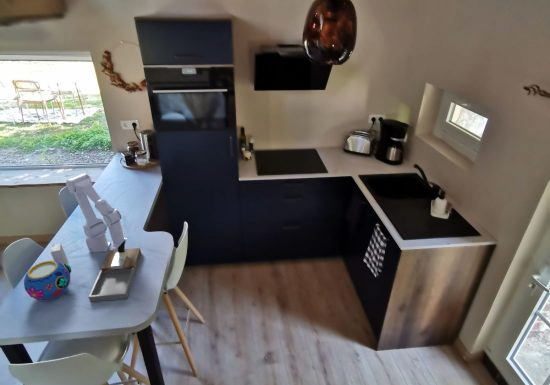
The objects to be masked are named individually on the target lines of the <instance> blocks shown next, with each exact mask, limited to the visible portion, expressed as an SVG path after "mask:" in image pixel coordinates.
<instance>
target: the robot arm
mask: <svg viewBox="0 0 550 385" xmlns="http://www.w3.org/2000/svg"><path fill="white" fill-rule="evenodd" d="M65 185H66V188H67V190H68V192H69V193H70V195H74V197H75V200H76V202H77V204H78V206H79V208H80V209H81V212H82V214H83V216H84V219H85V223H84V224H83V225H82V228H83V232H84V234H85V236H86V238H85V243H86V246H87V249H88V253H102V252H108V251H109V248H110V246H111V244H112V249H111V250H113V251H118V252H119V253H122V252H125V249H126V246H125V245H126V243H127V242H126V241H127V240H128V238H127V237H125V231H124V230H123V228H122V225H121V224H122V223H121V221H120V220H122V215H121V213H120V211H119V210H118V209H116V208H115V207H112V206H111V205H110V204H109V203H108V201H107V200H106V199H103V198H101V197H100V195H99V194H98V192H97V191H96V189H95V188H94V187H93V181H92V178H91V176H90V175H89V174H88V173H85V172H84V173H82V174H79V175H77V176H74V177H72V178H68V179H66V181H65ZM89 199H90V200H91V201H92V202H93V203H94V208H95V210H97V211H98V213H100V215H101V216H102V218H101V217H98V216H96V214H95V211H94V209H93V207H92V205H91V202H90V200H89ZM107 230H108V231H109V235H110V237H111V241H108V239H107V237H106V236H107V235H106V233H107Z"/></svg>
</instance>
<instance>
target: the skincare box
mask: <svg viewBox="0 0 550 385" xmlns="http://www.w3.org/2000/svg"><path fill="white" fill-rule="evenodd" d="M50 254H51V256H52V260H53V261H56V262H59V263H61V264H68V265H69V260H68V257H67V255H66V252H65V250H64V247H63V245H62V243H58V244H53V245H51V247H50Z"/></svg>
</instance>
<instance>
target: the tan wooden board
mask: <svg viewBox="0 0 550 385" xmlns="http://www.w3.org/2000/svg"><path fill="white" fill-rule="evenodd" d="M141 250H142V249H141V247H136V248H135V247H134V248H125V252H126V254H127V256H126V259H125V262H124V265H123V268H120V269H111V264H112V262H113V259H114V257H115V254H116V253H119V252H118V251H113V249H110V250H109V249H108V250H107V253H106V256H105V257H104V260H103V262H102V265H101V267H100V270H102V272H103V271H115V270H127V269H132V268H134V269H135V271H136V272H137V269H138V266H139V263H138V262H140V260H139V259H141V257H140V256H142V252H141ZM137 265H138V266H137Z"/></svg>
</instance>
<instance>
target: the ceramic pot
mask: <svg viewBox="0 0 550 385" xmlns="http://www.w3.org/2000/svg"><path fill="white" fill-rule="evenodd" d="M71 273H72V266H70V264H69V263H68V264H61V263H59V262H56V261H54V260H46V261H41V262H39V263H37V264H35V265H33V266H32V267H30V268H29V270H28V271H27V273H26V274H25V275H24V279H23V284H24V285H23V287H24V291H25V292H26V293H27V294H28V296H30V297H31V298H32V299H35V300H38V301H42V302H44V301H51V300H53V299H56V298H58V297H60V296H61V295H62V294H64V293H65V292H66V290H67V289H68V287H69V285H70V283H71Z"/></svg>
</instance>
